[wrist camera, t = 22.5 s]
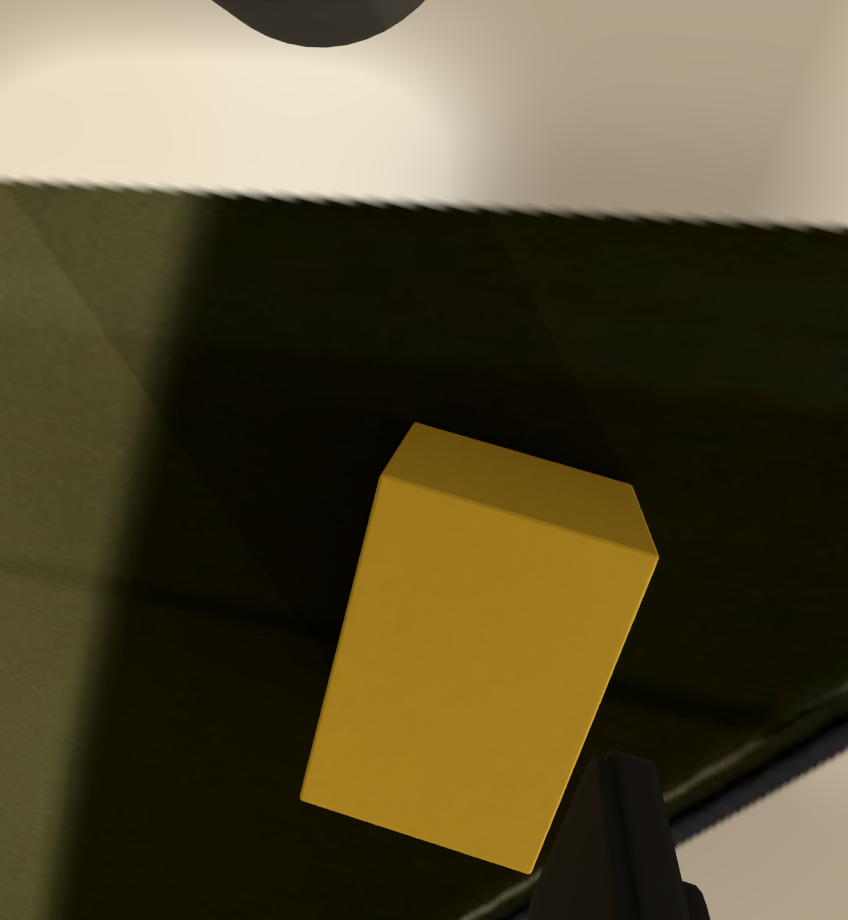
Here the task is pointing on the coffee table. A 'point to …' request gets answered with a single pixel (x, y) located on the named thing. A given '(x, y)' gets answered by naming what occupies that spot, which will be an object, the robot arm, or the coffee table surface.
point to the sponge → (477, 644)
